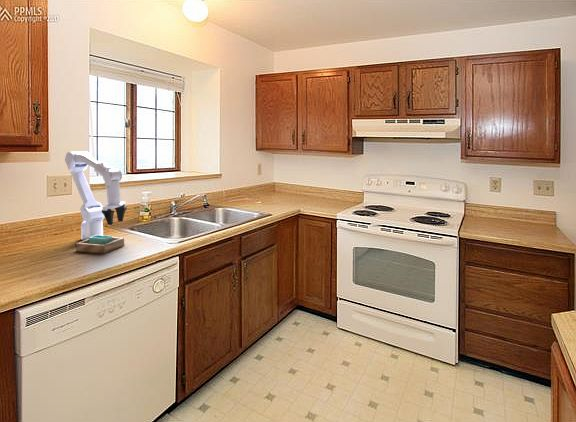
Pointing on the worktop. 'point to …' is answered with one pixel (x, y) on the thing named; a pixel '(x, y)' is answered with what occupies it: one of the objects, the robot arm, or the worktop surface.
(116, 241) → the tray
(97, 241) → the teal crate
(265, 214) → the worktop surface
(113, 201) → the robot arm
